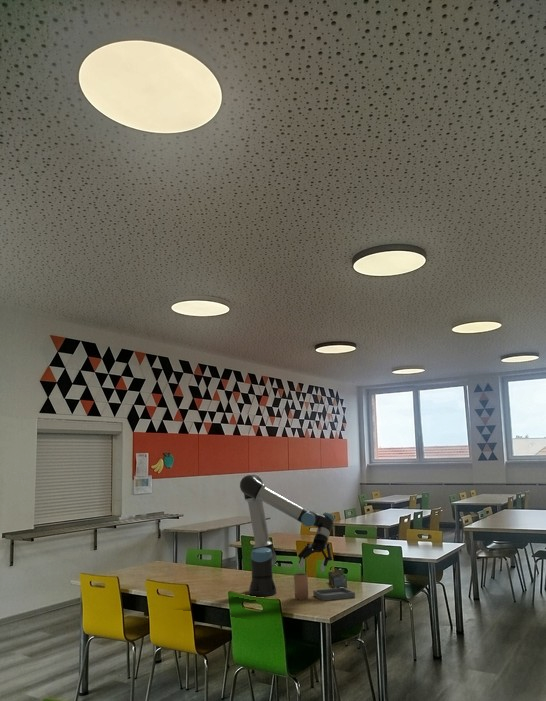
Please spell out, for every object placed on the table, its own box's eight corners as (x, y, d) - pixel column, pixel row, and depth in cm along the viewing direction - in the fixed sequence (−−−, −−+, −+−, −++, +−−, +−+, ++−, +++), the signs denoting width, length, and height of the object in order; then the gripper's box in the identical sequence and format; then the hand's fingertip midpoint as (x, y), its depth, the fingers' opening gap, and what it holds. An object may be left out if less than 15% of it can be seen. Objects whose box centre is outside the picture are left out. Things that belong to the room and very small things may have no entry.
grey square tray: (313, 595, 299) (313, 590, 300) (343, 592, 304) (343, 587, 305) (323, 600, 286) (323, 595, 286) (355, 597, 291) (354, 592, 291)
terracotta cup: (293, 598, 295) (292, 573, 298) (305, 596, 297) (304, 572, 300) (297, 600, 288) (296, 575, 291) (310, 599, 290) (309, 574, 293)
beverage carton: (333, 588, 317) (333, 576, 318) (328, 582, 335) (327, 570, 337) (347, 587, 317) (346, 575, 319) (341, 581, 336) (340, 570, 337)
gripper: (343, 542, 313) (333, 575, 298) (305, 541, 326) (293, 572, 310) (339, 533, 310) (328, 566, 294) (300, 532, 323) (288, 564, 307)
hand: (310, 569), depth 302 cm, fingers open, 13 cm apart
